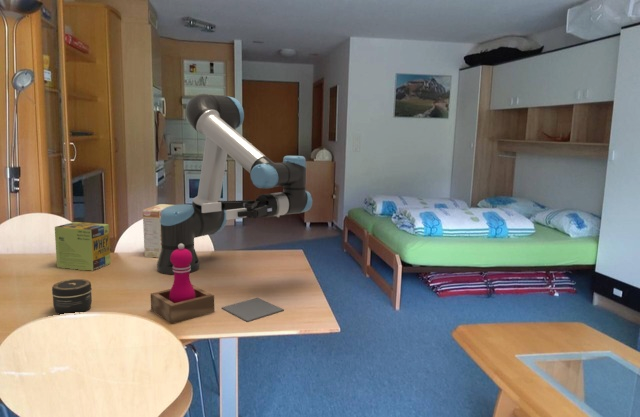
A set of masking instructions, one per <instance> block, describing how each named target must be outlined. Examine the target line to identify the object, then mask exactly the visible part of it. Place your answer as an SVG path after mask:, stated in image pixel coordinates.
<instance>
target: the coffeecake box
mask: <svg viewBox="0 0 640 417" xmlns="http://www.w3.org/2000/svg"><path fill="white" fill-rule="evenodd" d="M173 205H174V204H167V203H159V204H157V205H153V206H150V207H148V208H144V209H142V226H143V227H142V228H143V247H144V248H143V251H144V258H152V257H156V258H155V259H159V256H160V253H161V223H160V220H161V212H162V210H163V209H165V208H166V207H169V206H173Z"/></svg>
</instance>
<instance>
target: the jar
mask: <svg viewBox="0 0 640 417" xmlns="http://www.w3.org/2000/svg"><path fill="white" fill-rule="evenodd" d="M92 291H93V290H92V283H91V281H90V280H87V279H80V278H78V279H77V278H75V279H74V278H73V279H65V280H61V281H58V282H56V283H54V284H53V285H52V288H51V292H52V294H51V295H52V302H53V309H54V311H55V312H56V313H57V314H58V313H59V314H58V315H60V314H64V313H75V312H83V313H85V312H87V311H88V310H90V308H92V301H93V300H92Z"/></svg>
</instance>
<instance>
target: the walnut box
mask: <svg viewBox="0 0 640 417" xmlns="http://www.w3.org/2000/svg"><path fill="white" fill-rule="evenodd" d="M192 286H193V288H194V291H195V298H194V299H190V300H186V301H182V302H178V303H173V302H171V301H170V300H169V294H170V290H171V288H170V289H163V290H160V291H155V292H151V293H150V310H151V311H152V312H153V313H155V314H157V315H158V316H160V317H161V318H163V319H165V321H167V322H168V323H170V324H172V325H174V324H176V323H181V322H183V321H187V320H191V319H195V318H199V317H202V316H205V315H208V314H209V315H210V314H212V313H215V295H214V294H212V293H210V292H209V291H206V290H204V289H202V288H199V287H198V286H196V285H194V284H192Z"/></svg>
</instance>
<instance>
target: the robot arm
mask: <svg viewBox="0 0 640 417" xmlns="http://www.w3.org/2000/svg"><path fill="white" fill-rule="evenodd" d="M244 111H245V110H244V108H243V106H242V104H241V102H240V101H239V100H238V99H237V98H235V97H232V96H228V95H220V94H208V93H200V94H197V95H195V96H193V97H191V99H189V101H188V102H187V104H186V107H185V116H186V120H187V122H188V123H189V125H190V126H191V127H192V128H193V129H194V130H195V131H196V132H197V133H198V134H199V135H205V140H204V141H205V143H204V149H203V157H202V162H201V170H200V176H199V184H198V191H197V196H195V197H193V198H192V203H191V204H188V203H187V204H185V203H184V204H183V203H182V204H172V205H173V206H169V207H166V208H165V209H163V210H162V212H161V220H160V223H161V253H160V256H159V258H157V259H158V260H157V263H156V270H157V272H158V273H160V274H165V275H174V272H173V268H172V267H173V266H174V265H173V264H172V263H171V260H170V257H171V254H172V252H173V251H175V250H176V249H179V248H178V245H179V244H184V249H187V250H189V251H190V252H191V254H192V262H191V263H190V264H189V265H191V267H190V268H191V270H190V271H189V274H190V273H193V272H196V271H198V270H199V269H200V260H199V257H198V255H197V251H196V249H195V239H196V238H201V237H204V236H205V237H206V236H211V235H214V234H216V233H219V232H221V231H222V230H224V228H225V226H226V225H227V223H228V221H229V220H237V219H245V218H249V219H250V218H253V219H258V218H260V217H261V218H264V219H265V218H271V217H277V218H280V216H286V215H294V214H295V215H296V214H301V213H305V212H308V211H310V210H311V208H312V206H313V198H312V194H311V193H310V192H309V191H308V190H306V179H307V178H306V177H307V164H306V157H305V156H303V155H285V156H284V157H283V160H282V162H274V161H272V160H271V159H270V158H269V157H267V156H266V155H265V154H264V153H263V152H262V151H260V150H259V149H258V148H256V147H255V146H254V145H253V144H252V143H251V142H250V141H248V140H247V139H246V138H245V137H243V135H242V134H240V133H239V132H238V131H236V129H239V128H240V126H242V124H243V122H244V119H245V112H244ZM228 156H229V157H230V158H232V159H233V160H234V161H235V162H236V163H237V164H239V165H240V166H241V168H244V169H245V171H247V172H248V173H249V174H250V180H251V182H252V184H253V186H255V187H256V188H258V189H272V188H277V187H282V189H283V190H282V192H281V191H280V192H273V193H264V194H263V193H262V194H259V195H258V196H257V197H256V199H249V200H248V199H242V200H222V199H221V198H222V197H221V196H222V190H223V189H222V188H223V183H224V176H225V172H226V171H225V170H226V164H227V157H228Z"/></svg>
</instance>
